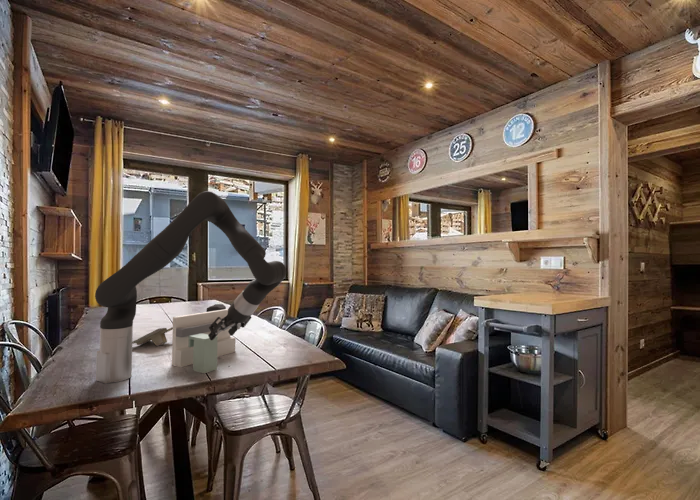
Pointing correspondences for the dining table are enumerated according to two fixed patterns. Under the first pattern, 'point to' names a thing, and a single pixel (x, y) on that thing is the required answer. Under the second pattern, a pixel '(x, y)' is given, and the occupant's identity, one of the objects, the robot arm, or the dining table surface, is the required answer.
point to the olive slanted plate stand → (154, 337)
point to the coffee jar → (216, 307)
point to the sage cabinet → (203, 352)
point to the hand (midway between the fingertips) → (220, 335)
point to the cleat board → (197, 325)
